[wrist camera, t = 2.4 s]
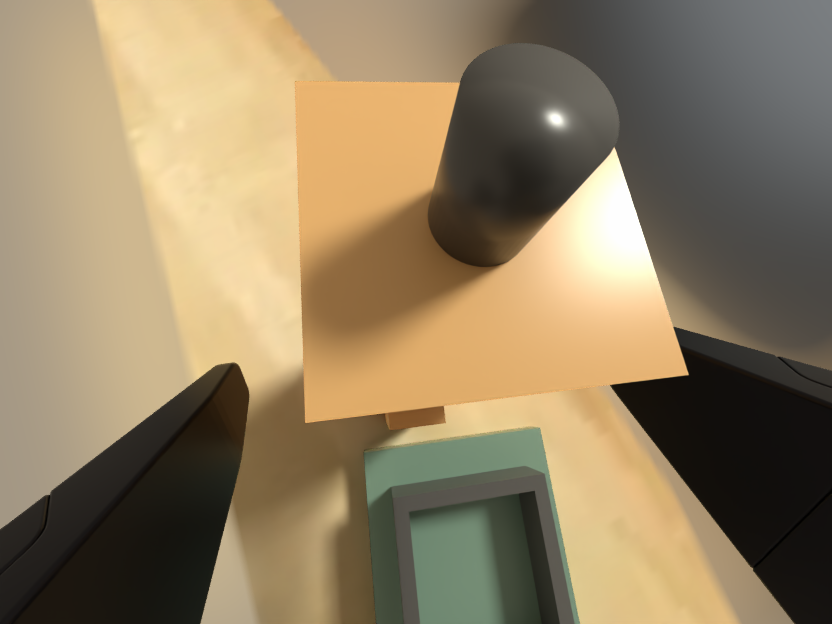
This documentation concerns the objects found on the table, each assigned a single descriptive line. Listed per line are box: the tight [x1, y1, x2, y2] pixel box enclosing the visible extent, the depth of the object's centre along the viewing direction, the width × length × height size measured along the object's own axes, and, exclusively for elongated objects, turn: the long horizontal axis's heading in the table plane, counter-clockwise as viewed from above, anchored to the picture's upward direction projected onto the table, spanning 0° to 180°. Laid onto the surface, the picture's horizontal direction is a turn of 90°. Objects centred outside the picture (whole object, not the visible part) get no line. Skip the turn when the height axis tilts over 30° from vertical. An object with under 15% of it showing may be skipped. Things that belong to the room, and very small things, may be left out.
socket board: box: [364, 427, 580, 624], centre depth 15 cm, size 11×9×3 cm
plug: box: [295, 43, 689, 430], centre depth 10 cm, size 5×4×16 cm
